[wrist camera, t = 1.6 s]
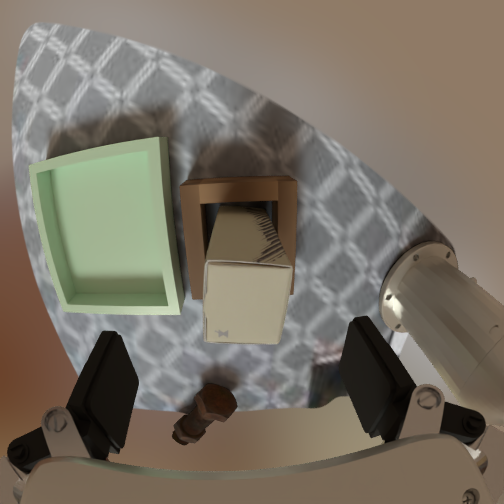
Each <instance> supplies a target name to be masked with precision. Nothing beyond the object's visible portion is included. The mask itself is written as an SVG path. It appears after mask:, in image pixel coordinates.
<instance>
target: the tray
mask: <svg viewBox="0 0 504 504" xmlns="http://www.w3.org/2000/svg"><path fill="white" fill-rule="evenodd" d="M29 173H30V182H31V189H32V196H33V202H34V208H35V214H36V219H37V224H38V228H39V233H40V237H41V242H42V246H43V249H44V253H45V257H46V261H47V264H48V267H49V271H50V274H51V277H52V280H53V283H54V287H55V289H56V292H57V295H58V298H59V301H60V304H61V306H62V309H63V311H64V312H76V313H95V314H126V315H181V311H182V307H183V303H184V300H185V295H184V289H183V283H182V276H181V269H180V262H179V255H178V247H177V239H176V231H175V222H174V213H173V203H172V192H171V180H170V166H169V150H168V137H153V138H146V139H140V140H133V141H127V142H121V143H116V144H111V145H105V146H101V147H96V148H91V149H87V150H82V151H78V152H74V153H70V154H66V155H62V156H58V157H55V158H51V159H48V160H44V161H41V162H38V163H34V164H31V165H29Z"/></svg>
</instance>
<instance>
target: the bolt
mask: <svg viewBox="0 0 504 504" xmlns="http://www.w3.org/2000/svg"><path fill="white" fill-rule="evenodd" d="M194 399H195V401H196V403H197V406H196V407H195V409H194V410H193V411H192V412H191V413H190V414H189V415H184V416H183V417H182V418H180V419H179V420H178V421H177V422H176V423H175V424H174V429H175V430H174V431H173V434H172V438H173V439H174V440H175V441H176V442H178V443H179V444H182V445H187V444H188V443H196V442H197V441H198V440H199V439H200V438H201V437H202V436H203V435H204V434H205V432H206V431H205V428H206V427H208V426H209V425H210V424H211V423H212V422H213V421H214V420H217V421H221V422H225V421H226V420H227V419H228V418H229V417H230V416H231V415H232V413H233V412H234V411H235V410H236V408H237V407H238V406H237V402H236V399H235V397H234V395H233V394H232V393H231V392H230V391H229V390H228V389H226V388H225V387H222V386H219V385H216V384H209V383H208V384H207V385H206V386H205V387H204V388H203V389H201V390H200V391H199V393H198V394H197V395H196V396H195V397H194Z"/></svg>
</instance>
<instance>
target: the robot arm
mask: <svg viewBox="0 0 504 504" xmlns="http://www.w3.org/2000/svg"><path fill="white" fill-rule="evenodd" d="M379 312H380V315H381V318H382V319H383V321H384V322H385V324H386V325H387V326H388V327H389V328H390V329H392V330H393V331H396V332H401V333H404V332H408V333H409V334H410V335H411V337H412V338H413V339H414V340H415V342H416V343H417V344H418V346H419V347H420V348H421V350H422V351H423V352H424V354H425V355H426V356H427V358H428V359H429V361H430V362H431V363H432V365H433V366H434V368H435V369H436V370H437V372H438V373H439V374H440V376H441V377H442V379H443V380H444V381H445V383H446V385H447V386H448V387H449V389H450V390H451V392H452V393H453V395H454V396H455V398H456V399H457V401H458V402H459V404H460V405H461V406H458V405H454V404H451V403H448V402H445V398H444V395H443V393H442V391H441V390H440V389H439V388H437V387H436V386H433V385H430V384H423V385H420V386H418V387H417V386H416V384H415V383H414V381H413V380H412V378H411V377H410V375H409V373H408V372H407V370H406V369H405V367H404V366H403V364H402V363H401V361H400V360H399V358H398V357H397V355H396V354H395V352H394V351H393V349H392V348H391V346H390V345H389V344H388V343H387V342H386V341H385V339H384V338H383V336H382V335H381V334H380V332H379V331H378V329H377V328H376V326H375V325H374V324H373V322H372V321H371V319H370V318H369V317H368V316H361V317H355V318H354V319H353V321H351V322H350V323H349V326H348V331H347V335H346V340H345V344H344V348H343V352H342V356H341V360H340V364H339V373H340V375H341V378H342V380H343V382H344V385H345V387H346V389H347V391H348V394H349V396H350V398H351V401H352V403H353V406H354V408H355V410H356V413H357V415H358V417H359V420H360V422H361V424H362V427H363V429H364V431H365V433H369V435H370V437H371V438H373V437H376V436H379V435H381V437H382V440H383V442H382V445H379V446H375V447H372V448H369V449H365V450H362V451H358V452H355V453H350V454H346V455H343V456H339V457H334V458H330V459H326V460H321V461H316V462H311V463H305V464H300V465H293V466H286V467H279V468H270V469H260V470H248V471H224V472H201V471H200V472H199V471H178V470H165V469H155V468H147V467H140V466H132V465H126V464H119V463H114V462H110V461H109V460H108V458H107V457H108V454H109V452H110V453H116V454H119V452H120V448H123V447H124V445H125V440H126V435H127V431H128V427H129V422H130V418H131V413H132V410H133V406H134V402H135V398H136V394H137V390H138V386H139V379H138V376H137V374H136V372H135V369H134V367H133V365H132V362H131V360H130V357H129V355H128V352H127V350H126V347H125V344H124V342H123V339H122V337H121V335H118V333H117V332H116V331H102V333H101V334H100V336H99V338H98V340H97V342H96V344H95V346H94V348H93V350H92V352H91V354H90V356H89V358H88V360H87V362H86V363H85V365H84V367H83V370H82V372H81V374H80V376H79V378H78V380H77V383H76V385H75V387H74V389H73V392H72V394H71V396H70V398H69V401H68V403H67V406H66V408H64V407H61V406H56V407H52V408H50V409H48V410H47V411H46V412H45V413H44V415H43V416H42V420H41V427H40V428H37V429H35V430H34V431H31V432H29V433H27V434H25V435H23V436H21V437H19V438H17V439H15V440H13V441H12V442H11V443H10V444H9V447H8V450H7V454H8V456H7V457H5V456H3V457H2V458H1V459H0V504H504V433H503V432H502V431H500V430H498V429H497V428H495V427H493V426H492V425H498V426H504V306H503V305H502V304H501V303H500V302H499V301H497V300H496V299H495V298H494V297H493V296H491V295H490V294H489V293H488V292H487V291H485V290H484V289H483V288H482V287H480V286H479V285H478V284H477V280H476V279H475V278H474V277H472V278H469V277H467V276H466V275H465V274H463V273H462V272H461V271H459V270H458V263H457V259H456V256H455V254H454V253H453V251H452V250H451V249H450V248H449V247H447V246H446V245H444V244H442V243H440V242H436V241H428V242H424V243H421V244H419V245H417V246H415V247H413V248H411V249H410V250H409V251H407V252H406V253H405V254H404V255H403V256H402V257H401V258H400V259H399V260H398V261H397V262H396V263H395V264H394V266H393V267H392V268H391V270H390V272H389V273H388V275H387V277H386V278H385V281H384V283H383V286H382V288H381V292H380V296H379ZM486 424H489V426H486Z"/></svg>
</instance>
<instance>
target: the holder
mask: <svg viewBox="0 0 504 504" xmlns="http://www.w3.org/2000/svg"><path fill="white" fill-rule="evenodd" d="M180 198H181V209H182V220H183V230H184V239H185V247H186V256H187V264H188V271H189V279H190V286H191V293H192V299H203V280H204V264H205V259H206V255H207V250H208V235H207V222H206V208H205V203H221V202H243V201H272V224H273V227H274V228H275V231H276V233H277V235H278V238H279V239H280V242H281V244H282V246H283V248H284V250H285V253H286V255H287V257H288V259H289V261H290V263H291V265H292V267H293V273H292V281H291V288H290V295H293V292H294V274H295V252H296V224H297V181H296V180H295V179H293V178H291V177H290V176H248V177H224V178H206V179H192V180H186V181H185V182H184V183H182V184H181V185H180Z"/></svg>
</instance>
